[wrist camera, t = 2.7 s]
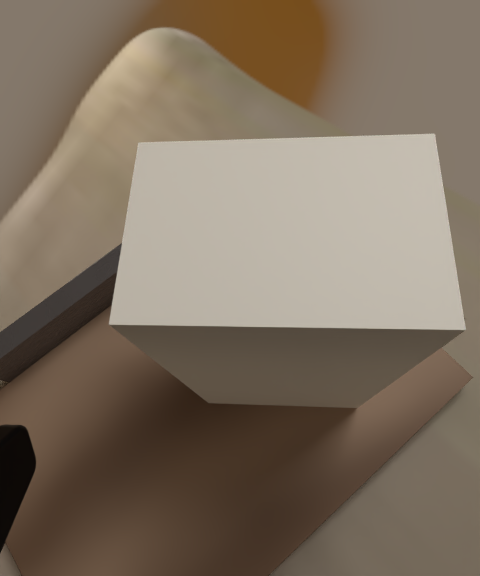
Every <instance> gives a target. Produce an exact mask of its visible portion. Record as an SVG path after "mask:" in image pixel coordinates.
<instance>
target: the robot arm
mask: <svg viewBox="0 0 480 576" xmlns="http://www.w3.org/2000/svg"><path fill="white" fill-rule="evenodd" d="M35 469H36V456H35V453H34V449H33V446H32V443H31V439H30V436H29V432H28V430H27V428H26V427H25V426H22V425H9V424H5V425H0V553H1V550H2V548H3V546H4V544H5V541H6V539H7V537H8V534H9V532H10V530H11V527H12V525H13V522H14V520H15V518H16V515H17V513H18V511H19V508H20V506H21V503H22V501H23V499H24V496H25V494H26V492H27V489H28V487H29V484H30V482H31V480H32V477H33V475H34V472H35Z"/></svg>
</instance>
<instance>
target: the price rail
mask: <svg viewBox="0 0 480 576" xmlns="http://www.w3.org/2000/svg"><path fill="white" fill-rule="evenodd" d="M121 246H122V243H121V244H120V245H119V246H117V247H115V248H114V249H112V250H111V251H110V252H108V253H107V254H106V255H104V256H103V257H102V258H100V259H99V260H97V261H96V262H95V263H93V264H92V265H91V266H89V267H88V268H87V269H85V270H84V271H82V272H81V273H80V274H78V275H77V276H76V277H74V278H73V279H72V280H70V281H69V282H68V283H67V284H66V285H64V286H63V287H61V288H60V289H59V290H57V291H56V292H55V293H53V294H52V295H51V296H49V297H48V298H46V299H45V300H44V301H42V302H41V303H40V304H38V305H37V306H36V307H34V308H33V309H31V310H30V311H29V312H27V313H26V314H25V315H23V316H22V317H21V318H19V319H18V320H16V321H15V322H14V323H12V324H11V325H10V326H8V327H7V328H6V329H4V330H3V331H1V332H0V380H3V381H7V382H11V381H12V380H13V379H15V378H16V377H17V376H19V375H20V374H21V373H23V372H24V371H25V370H27V369H28V368H29V367H31V366H32V365H33V364H35V363H36V362H37V361H38V360H40V359H41V358H42V357H44V356H45V355H46V354H48V353H49V352H50V351H52V350H53V349H54V348H56V347H57V346H58V345H60V344H61V343H62V342H63V341H65V340H66V339H67V338H69V337H70V336H71V335H73V334H74V333H75V332H77V331H78V330H79V329H81V328H82V327H83V326H85V325H86V324H87V323H88V322H90V321H91V320H92V319H94V318H95V317H96V316H98V315H99V314H100V313H102V312H103V311H104V310H106V309H107V308H108V307H110V306H111V305H112V301H113V295H114V289H115V283H116V277H117V271H118V265H119V259H120V253H121Z"/></svg>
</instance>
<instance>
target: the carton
mask: <svg viewBox="0 0 480 576" xmlns="http://www.w3.org/2000/svg"><path fill="white" fill-rule="evenodd" d="M109 325H110V326H111V327H112V328H114V329H115V330H116V331H117V332H119V333H120V334H121V335H123V336H124V337H125V338H126V339H128V340H129V341H130V342H131V343H133V344H134V345H135V346H137V347H138V348H139V349H140V350H142V351H143V352H144V353H145V354H147V355H148V356H149V357H151V358H152V359H153V360H154V361H156V362H157V363H158V364H159V365H161V366H162V367H163V368H165V369H166V370H167V371H168V372H170V373H171V374H172V375H173V376H175V377H176V378H177V379H179V380H180V381H181V382H182V383H184V384H185V385H186V386H187V387H189V388H190V389H191V390H193V391H194V392H195V393H196V394H198V395H199V396H200V397H201V398H203V399H204V400H205V401H207V402H208V403H218V404H248V405H278V406H308V407H338V408H358V407H360V406H361V405H362V404H364V403H365V402H366V401H368V400H369V399H371V398H372V397H373V396H375V395H376V394H378V393H379V392H380V391H382V390H383V389H385V388H386V387H387V386H389V385H390V384H391V383H393V382H394V381H396V380H397V379H398V378H400V377H401V376H403V375H404V374H405V373H407V372H408V371H409V370H411V369H412V368H414V367H415V366H416V365H418V364H419V363H421V362H422V361H423V360H425V359H426V358H428V357H429V356H430V355H432V354H433V353H434V352H436V351H437V350H439V349H440V348H441V347H443V346H444V345H446V344H447V343H448V342H450V341H451V340H453V339H454V338H455V337H457V336H458V335H459V334H461V333H462V332H464V331H465V330H466V328H465V322H464V316H463V309H462V303H461V297H460V290H459V284H458V278H457V271H456V265H455V259H454V252H453V246H452V240H451V233H450V227H449V221H448V214H447V208H446V202H445V195H444V189H443V183H442V176H441V170H440V164H439V158H438V151H437V145H436V139H435V134H413V135H383V136H382V135H381V136H380V135H378V136H345V137H311V138H278V139H244V140H211V141H177V142H144V143H138V149H137V155H136V161H135V167H134V173H133V179H132V185H131V192H130V198H129V204H128V210H127V216H126V222H125V228H124V234H123V240H122V246H121V253H120V259H119V265H118V271H117V277H116V283H115V289H114V295H113V301H112V307H111V314H110V320H109Z"/></svg>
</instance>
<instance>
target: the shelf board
mask: <svg viewBox="0 0 480 576" xmlns="http://www.w3.org/2000/svg"><path fill="white" fill-rule="evenodd" d="M111 307H112V305H111V306H110V307H108V308H107V309H106V310H104V311H103V312H102V313H100V314H99V315H98V316H96V317H95V318H94V319H92V320H91V321H90V322H88V323H87V324H86V325H85V326H83V327H82V328H81V329H79V330H78V331H77V332H75V333H74V334H73V335H71V336H70V337H69V338H67V339H66V340H65V341H63V342H62V343H61V344H60V345H58V346H57V347H56V348H54V349H53V350H52V351H50V352H49V353H48V354H46V355H45V356H44V357H42V358H41V359H40V360H38V361H37V362H36V363H35V364H33V365H32V366H31V367H29V368H28V369H27V370H25V371H24V372H23V373H21V374H20V375H19V376H17V377H16V378H15V379H13V380H12V381H11V382H10V383H8V384H7V385H6V386H4V387H3V388H2V389H0V425H5V424H9V425H22V426H25V427H26V428H27V430H28V432H29V436H30V439H31V443H32V446H33V449H34V453H35V456H36V469H35V472H34V475H33V477H32V480H31V482H30V484H29V487H28V489H27V492H26V494H25V496H24V499H23V501H22V503H21V506H20V508H19V511H18V513H17V515H16V518H15V520H14V522H13V525H12V527H11V530H10V532H9V534H8V537H7V539H6V541H5V542H6V544H7V546H8V548H9V550H10V552H11V554H12V556H13V558H14V560H15V562H16V564H17V566H18V568H19V570H20V572H21V574H22V576H268V575H269V574H270V573H271V572H273V571H274V570H275V569H276V568H277V567H278V566H279V565H280V564H281V563H282V562H283V561H284V560H285V559H286V558H287V557H288V556H289V555H290V554H291V553H292V552H293V551H294V550H295V549H296V548H297V547H298V546H299V545H300V544H301V543H302V542H304V541H305V540H306V539H307V538H308V537H309V536H310V535H311V534H312V533H313V532H314V531H315V530H316V529H317V528H318V527H319V526H320V525H321V524H322V523H323V522H324V521H325V520H326V519H327V518H328V517H329V516H330V515H331V514H332V513H334V512H335V511H336V510H337V509H338V508H339V507H340V506H341V505H342V504H343V503H344V502H345V501H346V500H347V499H348V498H349V497H350V496H351V495H352V494H353V493H354V492H355V491H356V490H357V489H358V488H359V487H360V486H361V485H362V484H363V483H365V482H366V481H367V480H368V479H369V478H370V477H371V476H372V475H373V474H374V473H375V472H376V471H377V470H378V469H379V468H380V467H381V466H382V465H383V464H384V463H385V462H386V461H387V460H388V459H389V458H390V457H391V456H392V455H393V454H395V453H396V452H397V451H398V450H399V449H400V448H401V447H402V446H403V445H404V444H405V443H406V442H407V441H408V440H409V439H410V438H411V437H412V436H413V435H414V434H415V433H416V432H417V431H418V430H419V429H420V428H421V427H422V426H423V425H424V424H426V423H427V422H428V421H429V420H430V419H431V418H432V417H433V416H434V415H435V414H436V413H437V412H438V411H439V410H440V409H441V408H442V407H443V406H444V405H445V404H446V403H447V402H448V401H449V400H450V399H451V398H452V397H453V396H454V395H456V394H457V393H458V392H459V391H460V390H461V389H462V388H463V387H464V386H465V385H466V384H467V383H468V382H469V381H470V380H471V379H472V378H473V377H472V376H471V375H470V374H469V373H468V372H467V371H466V370H465V369H464V368H463V367H462V366H461V365H459V364H458V363H457V362H456V361H455V360H454V359H453V358H452V357H451V356H450V355H449V354H448V353H447V352H446V351H444V350H443V349H442V348H440V349H439V350H437V351H436V352H434V353H433V354H432V355H430V356H429V357H428V358H426V359H425V360H423V361H422V362H421V363H419V364H418V365H416V366H415V367H414V368H412V369H411V370H409V371H408V372H407V373H405V374H404V375H403V376H401V377H400V378H398V379H397V380H396V381H394V382H393V383H391V384H390V385H389V386H387V387H386V388H385V389H383V390H382V391H380V392H379V393H378V394H376V395H375V396H373V397H372V398H371V399H369V400H368V401H366V402H365V403H364V404H362V405H361V406H360V407H358V408H338V407H308V406H278V405H248V404H218V403H208V402H207V401H205V400H204V399H203V398H201V397H200V396H199V395H198V394H196V393H195V392H194V391H193V390H191V389H190V388H189V387H187V386H186V385H185V384H184V383H182V382H181V381H180V380H179V379H177V378H176V377H175V376H173V375H172V374H171V373H170V372H168V371H167V370H166V369H165V368H163V367H162V366H161V365H159V364H158V363H157V362H156V361H154V360H153V359H152V358H151V357H149V356H148V355H147V354H145V353H144V352H143V351H142V350H140V349H139V348H138V347H137V346H135V345H134V344H133V343H131V342H130V341H129V340H128V339H126V338H125V337H124V336H123V335H121V334H120V333H119V332H117V331H116V330H115V329H114V328H112V327H111V326H110V325H109V320H110V314H111Z"/></svg>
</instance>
